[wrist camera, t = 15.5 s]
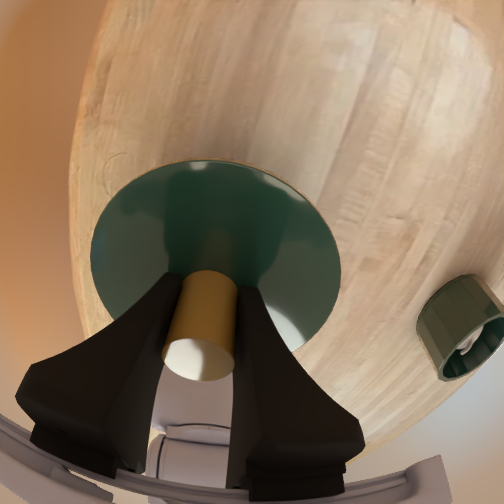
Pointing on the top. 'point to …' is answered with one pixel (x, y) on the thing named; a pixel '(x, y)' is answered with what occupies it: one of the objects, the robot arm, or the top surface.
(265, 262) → the lid
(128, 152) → the top surface
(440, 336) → the pot
